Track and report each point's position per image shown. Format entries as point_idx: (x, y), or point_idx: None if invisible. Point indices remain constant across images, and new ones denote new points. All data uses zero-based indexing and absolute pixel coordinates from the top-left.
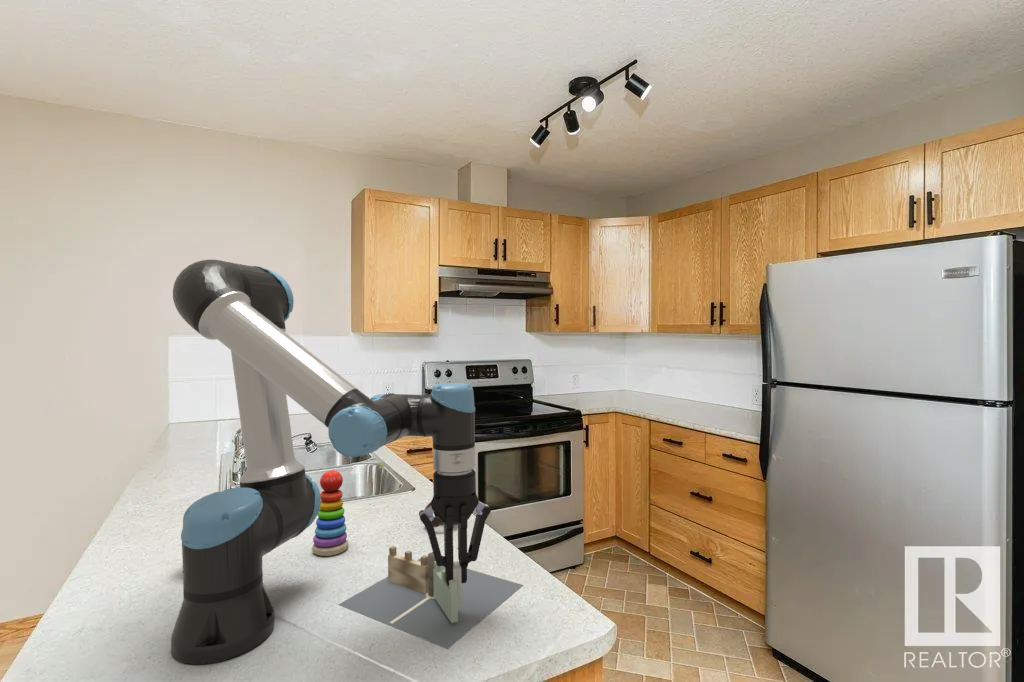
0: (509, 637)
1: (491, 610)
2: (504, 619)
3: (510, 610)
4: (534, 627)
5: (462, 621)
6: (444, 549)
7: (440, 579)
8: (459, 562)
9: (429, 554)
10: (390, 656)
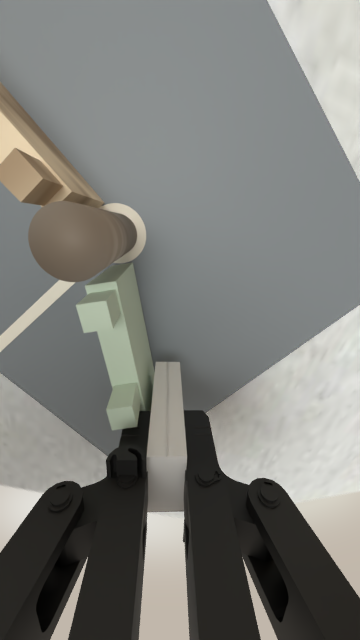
0: (254, 453)
1: (257, 372)
2: (272, 397)
3: (303, 368)
4: (316, 438)
5: None
6: (89, 555)
7: (111, 377)
8: (184, 496)
9: (39, 234)
10: (9, 449)
